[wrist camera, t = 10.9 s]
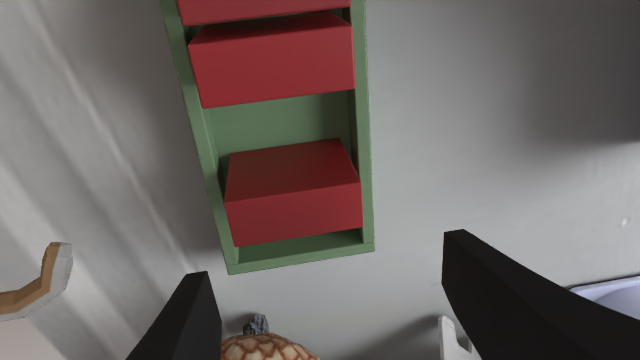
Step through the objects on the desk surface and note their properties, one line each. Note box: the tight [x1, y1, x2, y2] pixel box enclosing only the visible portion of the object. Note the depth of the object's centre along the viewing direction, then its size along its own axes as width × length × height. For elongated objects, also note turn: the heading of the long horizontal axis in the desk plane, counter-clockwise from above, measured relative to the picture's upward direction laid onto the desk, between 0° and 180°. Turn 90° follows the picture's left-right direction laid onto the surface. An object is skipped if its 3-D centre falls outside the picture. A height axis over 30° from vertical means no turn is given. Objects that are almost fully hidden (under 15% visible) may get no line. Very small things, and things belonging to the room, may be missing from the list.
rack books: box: [176, 0, 356, 109], centre depth 14 cm, size 4×5×4 cm
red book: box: [224, 138, 364, 247], centre depth 17 cm, size 2×5×4 cm, turn 96°
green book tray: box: [159, 0, 375, 275], centre depth 18 cm, size 15×7×2 cm, turn 5°
